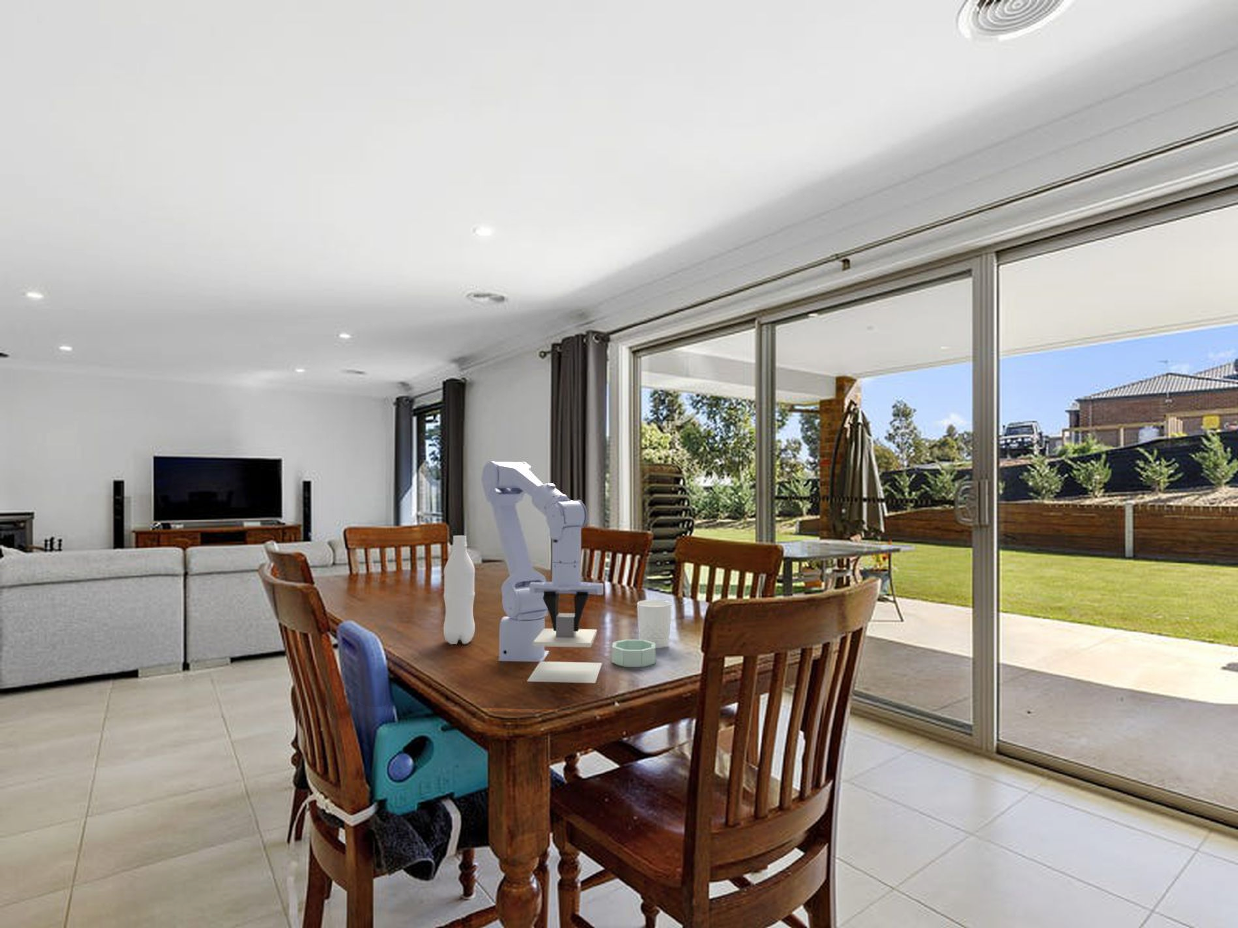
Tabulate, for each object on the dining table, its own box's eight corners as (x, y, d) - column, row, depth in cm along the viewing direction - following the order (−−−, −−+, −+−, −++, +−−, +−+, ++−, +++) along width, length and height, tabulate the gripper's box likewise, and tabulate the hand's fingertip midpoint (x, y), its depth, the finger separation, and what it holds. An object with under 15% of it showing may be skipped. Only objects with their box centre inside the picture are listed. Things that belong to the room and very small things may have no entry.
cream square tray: (526, 683, 123) (526, 680, 123) (540, 663, 136) (540, 661, 136) (595, 685, 122) (595, 682, 122) (602, 665, 135) (602, 662, 135)
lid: (533, 645, 124) (533, 620, 124) (543, 632, 135) (544, 609, 135) (590, 647, 123) (590, 621, 123) (596, 633, 134) (596, 610, 134)
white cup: (669, 651, 145) (669, 606, 146) (634, 649, 147) (634, 605, 147) (673, 642, 153) (673, 600, 153) (640, 641, 155) (640, 599, 155)
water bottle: (470, 646, 150) (471, 537, 150) (439, 646, 150) (440, 537, 150) (477, 638, 157) (478, 534, 157) (448, 638, 157) (448, 534, 158)
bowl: (610, 669, 132) (610, 650, 132) (614, 657, 141) (614, 639, 141) (654, 670, 132) (654, 651, 132) (655, 658, 141) (655, 639, 141)
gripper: (526, 563, 126) (525, 634, 126) (600, 564, 125) (600, 635, 125) (533, 558, 133) (533, 625, 133) (604, 559, 132) (604, 627, 132)
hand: (566, 629), depth 129 cm, fingers closed on lid, 3 cm apart
